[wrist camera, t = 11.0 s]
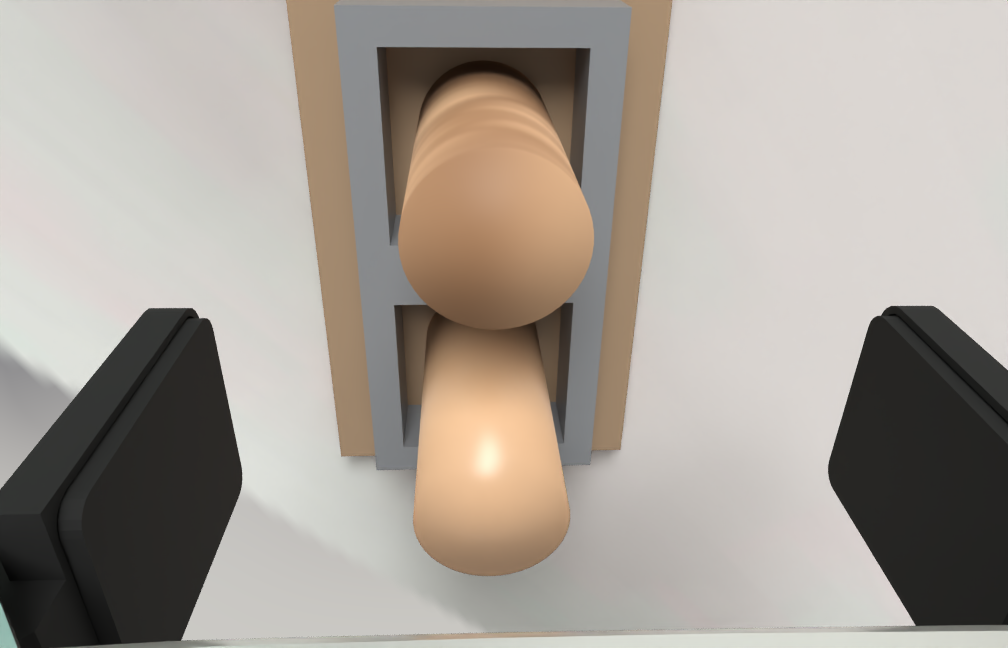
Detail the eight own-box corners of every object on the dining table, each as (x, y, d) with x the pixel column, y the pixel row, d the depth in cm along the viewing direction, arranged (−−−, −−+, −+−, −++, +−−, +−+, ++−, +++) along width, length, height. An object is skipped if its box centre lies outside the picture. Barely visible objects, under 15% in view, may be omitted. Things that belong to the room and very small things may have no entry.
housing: (668, -60, 22) (812, -32, 13) (614, 431, 31) (678, 646, 22) (287, -65, 21) (164, -40, 12) (345, 437, 30) (298, 660, 21)
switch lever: (550, 60, 22) (601, 148, 14) (545, 189, 24) (587, 328, 16) (415, 60, 22) (392, 148, 14) (421, 190, 24) (403, 330, 16)
